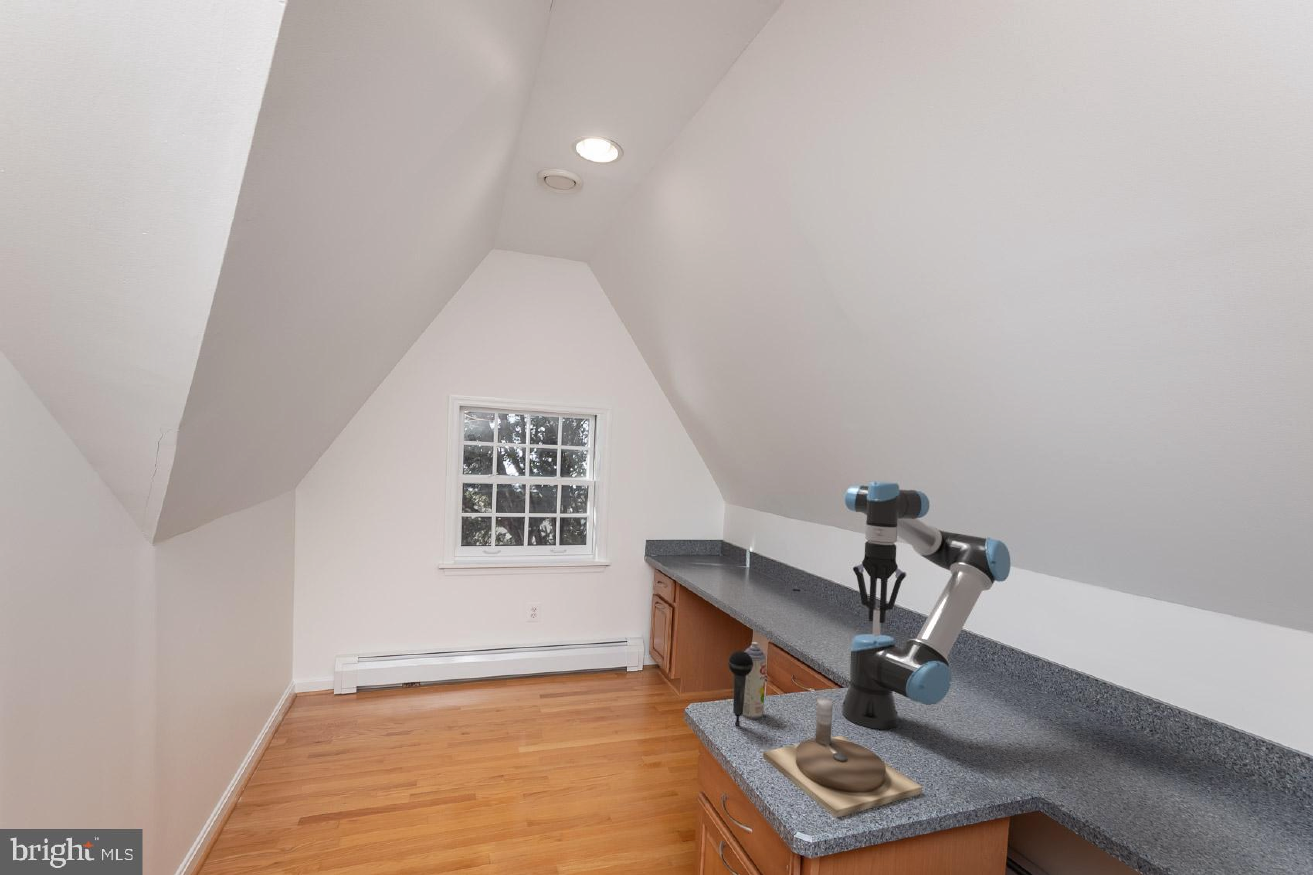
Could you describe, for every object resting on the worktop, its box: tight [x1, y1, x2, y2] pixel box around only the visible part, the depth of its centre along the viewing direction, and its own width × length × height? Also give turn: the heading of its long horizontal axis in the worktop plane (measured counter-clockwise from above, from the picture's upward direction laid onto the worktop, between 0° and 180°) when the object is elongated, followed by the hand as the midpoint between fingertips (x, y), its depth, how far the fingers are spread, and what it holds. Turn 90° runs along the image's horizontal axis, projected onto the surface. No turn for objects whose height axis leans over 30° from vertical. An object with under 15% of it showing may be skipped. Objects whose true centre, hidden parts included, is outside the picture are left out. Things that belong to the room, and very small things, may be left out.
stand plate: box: [762, 735, 923, 819], centre depth 138 cm, size 25×25×2 cm
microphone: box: [727, 650, 753, 727], centre depth 161 cm, size 7×7×20 cm
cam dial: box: [796, 697, 886, 792], centre depth 138 cm, size 20×20×12 cm
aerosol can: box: [740, 641, 767, 720], centre depth 169 cm, size 7×7×20 cm
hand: (876, 634), depth 151 cm, fingers closed
